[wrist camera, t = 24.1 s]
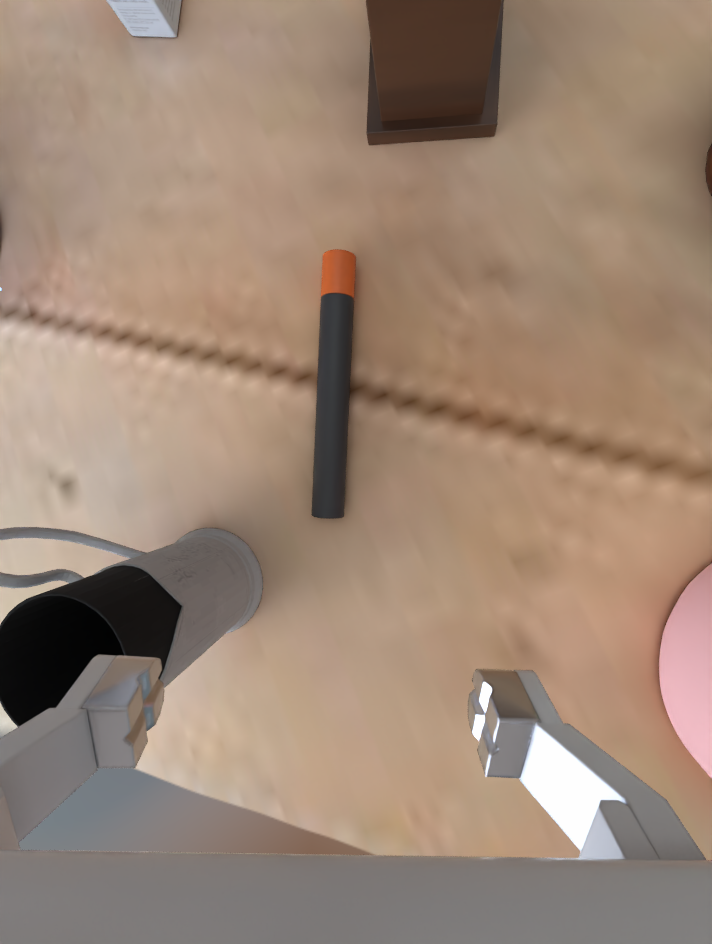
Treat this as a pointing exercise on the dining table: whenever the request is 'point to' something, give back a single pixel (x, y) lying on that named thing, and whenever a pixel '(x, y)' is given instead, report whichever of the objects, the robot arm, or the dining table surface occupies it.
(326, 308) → the marker
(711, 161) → the food container
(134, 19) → the cosmetic box
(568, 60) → the dining table surface
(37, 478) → the dining table surface
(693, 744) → the cake
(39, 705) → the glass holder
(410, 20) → the stand
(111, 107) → the dining table surface
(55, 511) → the dining table surface
